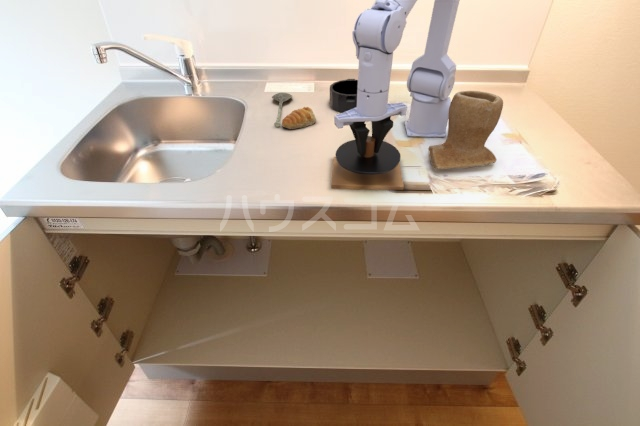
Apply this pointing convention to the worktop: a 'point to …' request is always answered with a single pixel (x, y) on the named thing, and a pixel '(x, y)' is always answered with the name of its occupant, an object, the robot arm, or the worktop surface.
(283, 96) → the soupspoon
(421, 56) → the robot arm
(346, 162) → the lid
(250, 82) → the worktop surface
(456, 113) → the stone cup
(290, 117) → the pastry
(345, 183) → the board
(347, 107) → the pot
